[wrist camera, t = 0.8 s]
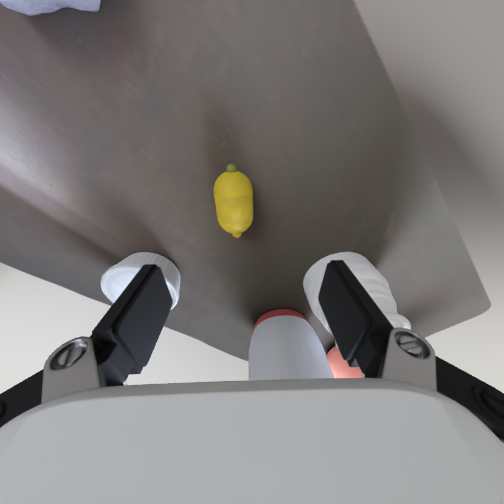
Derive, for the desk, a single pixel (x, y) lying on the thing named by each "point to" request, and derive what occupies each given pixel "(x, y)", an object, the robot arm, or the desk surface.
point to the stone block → (49, 5)
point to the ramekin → (129, 267)
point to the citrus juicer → (286, 348)
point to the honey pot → (367, 278)
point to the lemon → (234, 201)
